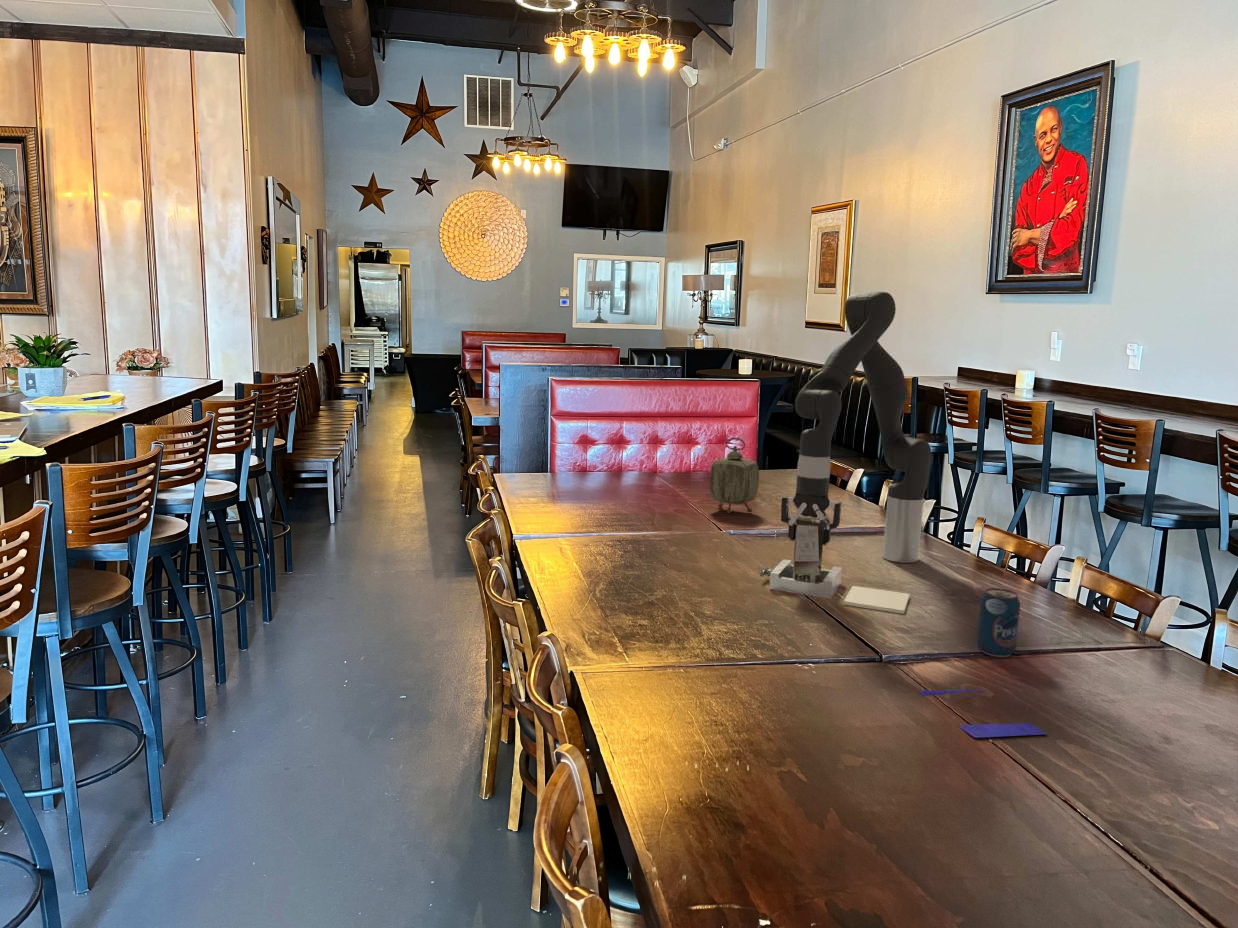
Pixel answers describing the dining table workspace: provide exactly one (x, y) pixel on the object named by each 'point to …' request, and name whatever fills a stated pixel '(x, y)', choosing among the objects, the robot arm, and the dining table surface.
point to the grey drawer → (784, 580)
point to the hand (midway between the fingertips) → (808, 542)
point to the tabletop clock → (734, 479)
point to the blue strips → (991, 729)
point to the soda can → (998, 622)
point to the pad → (877, 599)
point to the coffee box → (808, 549)
